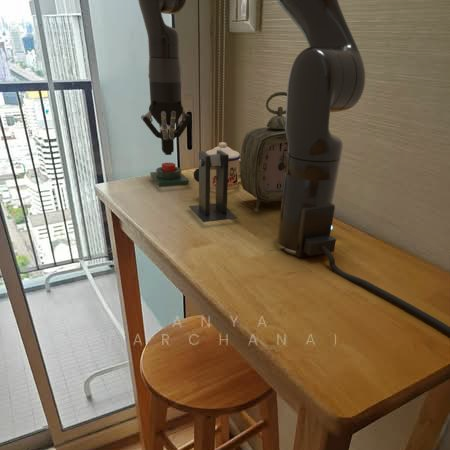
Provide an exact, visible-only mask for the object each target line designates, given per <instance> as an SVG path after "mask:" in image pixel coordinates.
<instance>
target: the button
mask: <svg viewBox="0 0 450 450" xmlns="http://www.w3.org/2000/svg"><path fill="white" fill-rule="evenodd" d="M161 167H162V171H165V172H172V171H176V167H177V166H176V163H174V162H162V163H161Z"/></svg>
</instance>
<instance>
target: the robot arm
mask: <svg viewBox="0 0 450 450" xmlns="http://www.w3.org/2000/svg"><path fill="white" fill-rule="evenodd" d="M137 1H138V5H139V9H140V12H141V15H142V20H143V23H144V27H145V30H146V34H147V44H148V81H149V82H148V83H149V99H150V100H149V101H150V104H149V107H148V111H147V113H145V114H142V115H141V117H140V119H141V120H142V122H143V123H144V125H145V126H146V127H147V128H148V129H149V131H151V133H152V134H153V136H155V137H156V138H157V139H160V141H161V143H160V144H161V151H162V153H164V155H165V156H172V153H174V150H175V148H174V145H175V143H174V140H175V139H176V138H180V137H181V136H182V134H183V133H184V132H185V130H186V128H187V127H188V125H189V124H190V122H191V121H192V116H191V115H190V114H188V113H186V112H185V111H184V107H183V104H182V69H181V61H180V37H179V32H178V30H177V29H176V28H174V27H172V26H169V25H167V24H166V23H165V21H164V18H163V15H162V14H164V15H165V14H166V15H176V14H178V13H179V12H181V11H182V10H183V8H184V7H185V5H186V3H187V0H137ZM276 2H277V3H278V5H279V6H280V7H281V8H282V10H284V12H285V13H286V14H287V15H288V17H289V18H290V19H291V20H292V21H293V23H295V25H296V26H297V28H298V29H299V30H300V31H301V33H302V35H303V37H304V39H305V40H306V42H307V45H308V47H306V48H304V49H303V50H301V51H300V52H299V53H298V54H297V56H296V57H295V59H294V60H293V63H292V65H291V68H290V71H289V76H288V82H287V91H286V92H287V96H286V108H285V110H286V114H285V117H286V123H285V134H286V139H287V144H288V148H287V159H286V168H285V176H284V185H283V194H282V201H281V204H280V213H279V220H278V221H279V222H278V231H277V243H278V244H279V245H280V246H282V247H280V248H279V250H280V251H282V252H284V253H287V254H289V255H293V256H296V257H297V259H299V258H308V257H314V256H319V255H320V256H321V255H325V256H326V258H327V259H328V263H329V267H330V268H331V270H332V271H333V272H334V273H335V274H336V275H337V276H340V277H341V278H343V279H345V280H347V281H349V282H352V283H355V284H358V285H361V286H362V287H365V288H366V289H368V290H370V291H372V292H374V293H376V294H377V295H379V296H381V297H382V298H385V299H387V300H389V301H391V302H392V303H394V304H396V305H398V306H400V307H401V308H403V309H405V310H407V311H408V312H410V313H412V314H413V315H416V316H417V317H419V318H420V319H422V320H424V321H426V322H428V323H429V324H431V325H433V326H434V327H436V328H438V329H440V330H441V331H443V332H444V333H446V334H447V335H449V336H450V326H449V325H448V324H446V323H444V322H442V321H441V320H439V319H438V318H436V317H434V316H432V315H431V314H428V313H427V312H425V311H423V310H422V309H420V308H418V307H417V306H414V305H413V304H410V303H409V302H407V301H405V300H403V299H402V298H400V297H397V296H396V295H394V294H392V293H390V292H388V291H387V290H385V289H382V288H381V287H379V286H377V285H376V284H373V283H371V282H369V281H368V280H365V279H363V278H360V277H359V276H358V277H357V276H355V275H352V274H349V273H346V272H345V271H343V270H342V269H340V268H339V267H338V266H337V264H336V260H335V257H334V255H333V253H334V252H335V246H336V242H337V239H336V238H335V237H333V236H331V232H332V230H333V220H334V215H335V210H336V205H335V204H334V197H335V194H336V193H335V192H336V188H337V187H336V186H337V181H338V176H339V170H340V165H341V159H342V153H343V149H344V142H343V140H342V139H341V138H340V137H338V136H336V135H334V134H332V133H331V131H330V116H331V113H337V112H343V111H347V110H349V109H351V108H354V107H355V106H356V105H357V104H358V103H359V101H360V100H361V98H362V96H363V93H364V92H365V91H364V90H365V88H366V87H365V86H366V69H365V63H364V61H363V58H362V57H363V56H362V55H361V52H360V49H359V47H358V45H357V43H356V40H355V38H354V35H353V34H352V32H351V30H350V27H349V25H348V22H347V20H346V18H345V16H344V14H343V11H342V9H341V6H340V3H339V0H276ZM153 119H154V120H155V122H156V123H157V125H158V128H159V131H158V129H157V128H156V126H155V125H154V123H152V122H153ZM179 120H180V121H179ZM178 121H179V123H178ZM177 123H178V125H177V126H176V124H177Z"/></svg>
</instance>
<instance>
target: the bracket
mask: <svg viewBox="0 0 450 450" xmlns="http://www.w3.org/2000/svg"><path fill="white" fill-rule="evenodd" d="M217 154H220V160H221V166H220V167H219V168H218V169H216V189H215V203H211V188H210V156H209V155H208V154H206V152H205V151H198V168H199V182H198V204H196V205H189V206H188V207H189V208H190V210H191V211H192V212H193V213H194V214H195V216H197V218H199V219H200V221H201V222H202V223H208V222H215V221H218V222H219V221H225V220H233V219H238V216H237V215H236V214H235V213H234V212H232V211H231V210H230V209H229V208H228V190H229V189H228V161H229V155H228V154H226V153H224V152H223V151H221V150H218V151H217Z"/></svg>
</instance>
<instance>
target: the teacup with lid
mask: <svg viewBox="0 0 450 450" xmlns="http://www.w3.org/2000/svg"><path fill="white" fill-rule="evenodd" d="M218 150H221V151H223V152H224V153H226V154H228V155H229V161H228V189H227V190H233V189H235V188H237V187H238V186H239V179H240V180H241V177H240V174H239V170H240V160H241V153H239V152H238V151H237V150H234V149H233V148H231V147H229V146H228V144H227V142H225V141H220V142H219V143H218V146H215V147H214V148H212V149H208V150H207V151H206V152H205V153H206V154H208V155H211V154H217V151H218ZM210 189H212V190H213V189H214V190H216V170H210Z"/></svg>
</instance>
